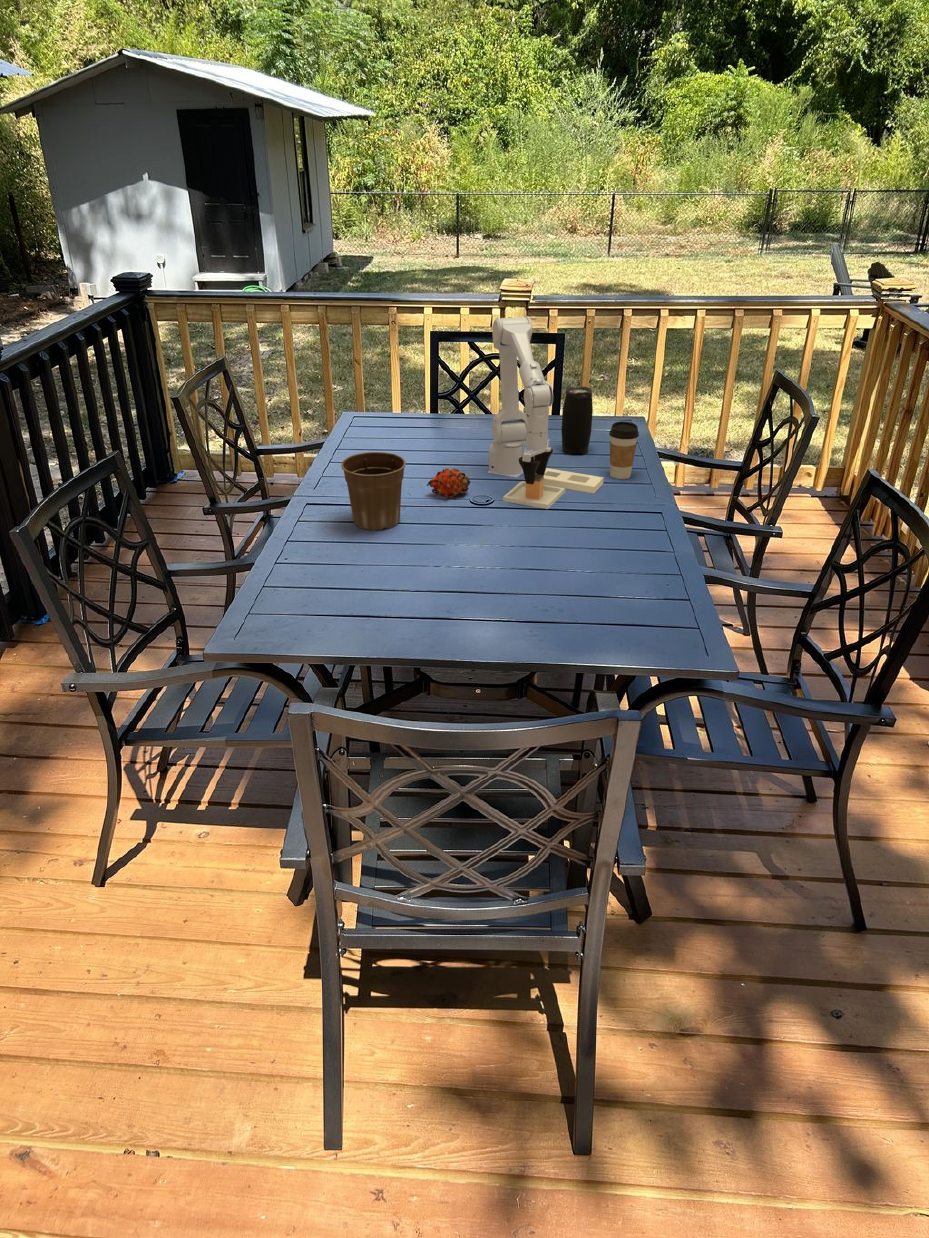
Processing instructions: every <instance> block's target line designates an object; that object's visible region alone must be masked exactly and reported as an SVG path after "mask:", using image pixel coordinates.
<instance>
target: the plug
mask: <svg viewBox="0 0 929 1238" xmlns="http://www.w3.org/2000/svg"><path fill="white" fill-rule="evenodd" d="M543 487H544V475H539V474H536V476H535V481H534V484H533V485H532V484H526V496H525V497H526V498H532V499H538V500H539V499H540V498H541V497H543Z"/></svg>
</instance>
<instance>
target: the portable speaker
mask: <svg viewBox="0 0 929 1238" xmlns="http://www.w3.org/2000/svg"><path fill="white" fill-rule="evenodd" d="M593 408H594V407H593V391H592V388H591V387H587V386H579V387H578V386H577V387H571V386H568V387H566V389H565V396H564V401H563V406H562V412H561V413H562V416H561V444H562V445H561V447H562V452H563V453H564V454H566V455H569V456H570V455H572V454H573V453H574V454H575V453H577V454H579V453H580V454H581V456H582V455H584V456H585V455H586V454H587V453H588V449H589V445H590V441H591V435H592V434H591V433H592V426H593V425H592V424H593V412H594V411H593Z"/></svg>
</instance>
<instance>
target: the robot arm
mask: <svg viewBox="0 0 929 1238" xmlns="http://www.w3.org/2000/svg"><path fill="white" fill-rule="evenodd" d="M491 330H492V344H493V348H494V349H496V350H498V354H499V355H498V356H499V368H500V370H499V371H500V374H499V375H500V386H501V387H500V390H501V392H500V393H501V410H499V411H498V412H497V413H496V414H495V415H494V416H493V419H492V427H491V432H492V433H491V434H492V439H493V441H492V442H491V444H490V446H489V450H488V471H487V473H488V474H489V473H490V474H495V475H500V476H501V475H502V476H506V477H512V478H519V477H520V475H522V474H523V477H524V481H525V482H526V484H532V485H533V484H534V481H535V476H536V474H539V475H544V474H545V470H546V468H548V467H547V466H548V463H549V460H550V457H551V455H552V454H553V452H554V449H553V448H552V447H550V440H551V439H550V438H548V434H549V433H548V432H549V416H550V415H549V414H550V412H549V411H550V407H551V406H552V405H553V403H554V392H553V388H552V385H551V384H550V383H549V382H548V380H545V377H544V374H543V372H542V368H541V365H540V363H539V362H538V361H536V360H534V355H533V351H532V347H531V339H532V335H533V322H532V319H531V318H530V316H528V315H526V316H517V317H516V316H515V317H495V319H494V321H493V323H492V327H491ZM518 362H519V364H520V367H519V369H518ZM518 374H519V376H520V380H521V384H522V386H523V388H524V392H523V400H524V411H525V412H523V411H522V410H521V409H520V402H519V401H520V400H519V397H520V396H519V378H518Z"/></svg>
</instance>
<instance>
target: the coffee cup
mask: <svg viewBox="0 0 929 1238" xmlns="http://www.w3.org/2000/svg"><path fill="white" fill-rule="evenodd" d="M608 435H609V436H610V440H609V476H610V477H611V478H612V479H613V478H614V479H616V480H627V479H630V477H631V474H632V469H633V465H634V459H635V455H636V449H637V444H638V442H637V441H638V438H639V436H640V433H639V427H638V426H637V425H636V424H635V423H633V422H631V421H624V420H623V421H617V422H614V423H612V424H611V429H610V431H609V433H608Z"/></svg>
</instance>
